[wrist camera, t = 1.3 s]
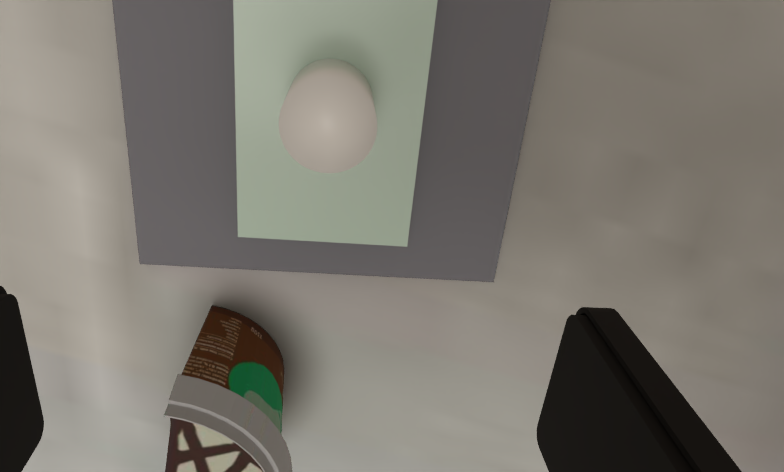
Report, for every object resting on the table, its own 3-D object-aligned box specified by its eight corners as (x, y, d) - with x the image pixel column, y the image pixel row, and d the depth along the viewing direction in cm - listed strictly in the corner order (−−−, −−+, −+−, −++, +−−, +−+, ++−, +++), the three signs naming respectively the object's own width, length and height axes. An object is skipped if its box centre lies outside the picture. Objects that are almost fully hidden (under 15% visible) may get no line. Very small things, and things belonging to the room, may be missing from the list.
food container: (285, 451, 39) (267, 598, 30) (193, 440, 38) (146, 589, 29) (319, 301, 34) (309, 424, 25) (214, 284, 33) (164, 405, 24)
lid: (442, -63, 25) (464, -68, 21) (405, 238, 32) (415, 290, 27) (235, -88, 25) (207, -98, 20) (241, 228, 31) (220, 280, 26)
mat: (568, -112, 26) (573, -113, 25) (491, 276, 34) (493, 282, 34) (99, -172, 23) (94, -175, 23) (143, 258, 32) (139, 263, 31)
